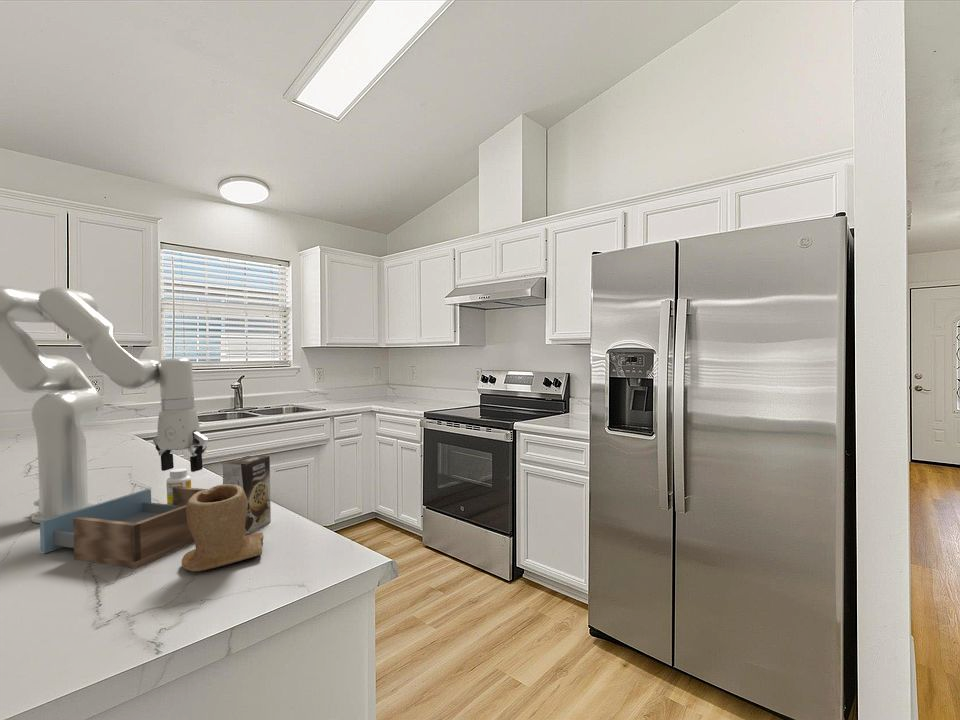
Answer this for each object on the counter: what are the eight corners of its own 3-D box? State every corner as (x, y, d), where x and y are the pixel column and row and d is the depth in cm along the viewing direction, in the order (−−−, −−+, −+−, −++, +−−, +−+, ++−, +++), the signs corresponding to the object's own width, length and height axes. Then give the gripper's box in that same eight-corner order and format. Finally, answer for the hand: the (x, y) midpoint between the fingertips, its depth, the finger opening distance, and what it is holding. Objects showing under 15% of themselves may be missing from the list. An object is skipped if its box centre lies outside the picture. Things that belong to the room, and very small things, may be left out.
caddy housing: (74, 559, 101) (73, 518, 100) (177, 519, 124) (176, 486, 123) (135, 568, 96) (134, 525, 96) (230, 525, 119) (229, 491, 119)
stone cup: (185, 584, 89) (183, 500, 89) (179, 561, 99) (177, 486, 99) (275, 562, 98) (273, 486, 98) (261, 543, 108) (260, 474, 107)
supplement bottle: (187, 504, 136) (186, 466, 136) (195, 508, 133) (194, 469, 132) (163, 509, 132) (162, 470, 132) (171, 513, 128) (170, 473, 128)
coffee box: (247, 535, 113) (246, 463, 112) (222, 533, 114) (220, 462, 113) (272, 521, 121) (270, 455, 121) (248, 520, 123) (247, 454, 122)
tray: (40, 552, 103) (39, 520, 103) (147, 515, 126) (147, 489, 126) (98, 561, 99) (97, 528, 99) (198, 520, 122) (198, 493, 122)
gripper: (139, 407, 131) (143, 472, 131) (192, 407, 126) (196, 474, 126) (165, 403, 138) (169, 465, 138) (215, 403, 133) (219, 467, 133)
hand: (182, 470), depth 132 cm, fingers open, 9 cm apart
